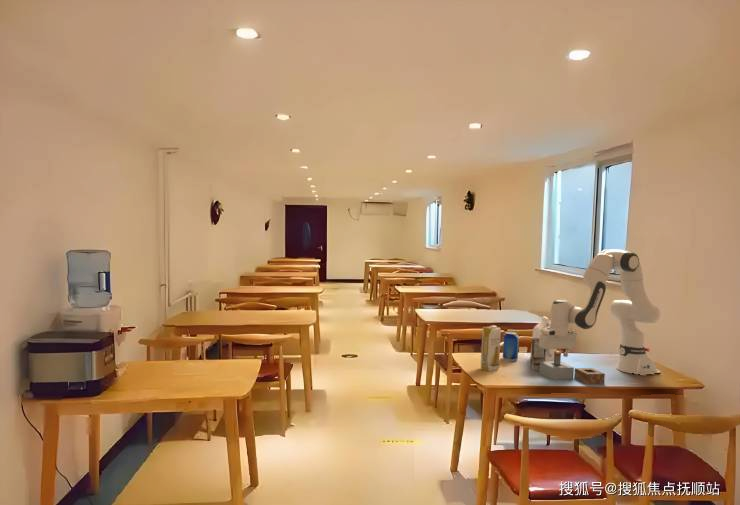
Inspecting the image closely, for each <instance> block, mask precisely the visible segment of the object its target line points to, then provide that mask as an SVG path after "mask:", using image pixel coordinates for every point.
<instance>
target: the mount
mask: <svg viewBox="0 0 740 505" xmlns="http://www.w3.org/2000/svg"><path fill="white" fill-rule="evenodd" d="M605 377H606V373H604V372H601V371H599V370H598V369H595V368H594V367H577V368H576V367H574V375H573V379H574V378H575V380H578V381H580V382H582V383H583V384H586V385H596V384H600V385H601V384H605V381H606V380H605Z"/></svg>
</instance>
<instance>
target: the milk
mask: <svg viewBox="0 0 740 505" xmlns="http://www.w3.org/2000/svg"><path fill="white" fill-rule="evenodd" d="M550 323H551V322H550V319H549V318H548V317H547V316H542V318H541V321H539V322H538V323H537V324H536V325H535V326H534V327H533V329H532V330H533V331H532V338H540V335H541V334H543V333H541V329H543V328H546V327H549V326H550ZM532 338H531V339H532ZM531 350H532V345H531V348H530V351H531ZM554 351H558V349H550V351H549V352H550V354H552V355H551V356H552V357H547V352H546V355H545V361H554ZM529 357H530V359H531V354H530V355H529Z"/></svg>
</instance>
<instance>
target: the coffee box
mask: <svg viewBox="0 0 740 505" xmlns="http://www.w3.org/2000/svg"><path fill="white" fill-rule="evenodd" d="M539 339H540V338H531V346H532V350H531V349H530V355H531V358H530V368H531V370H532V371H539V372H540V361H545V355H546V350H545V349H542V348H540V346H539Z"/></svg>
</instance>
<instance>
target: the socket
mask: <svg viewBox="0 0 740 505" xmlns="http://www.w3.org/2000/svg"><path fill="white" fill-rule="evenodd" d="M539 373H540V374H541V375H543V376H546V377H547V378H549V379H551V380H552V381H553V380H574V375H575V367H574V366H572V365H570V364H567V363H565V362H563V361H560V366H555V365H554V361H540V371H539Z"/></svg>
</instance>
